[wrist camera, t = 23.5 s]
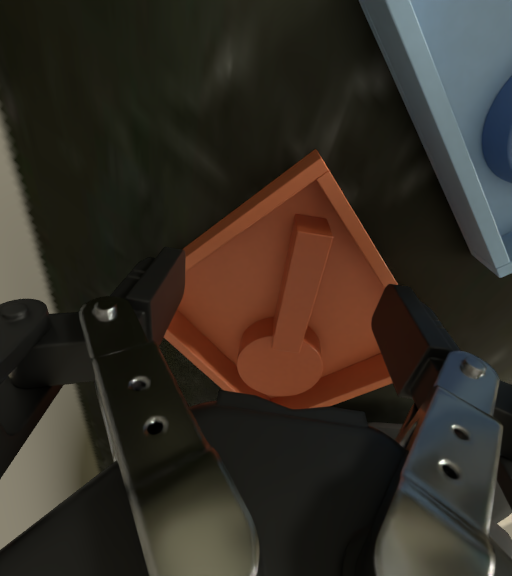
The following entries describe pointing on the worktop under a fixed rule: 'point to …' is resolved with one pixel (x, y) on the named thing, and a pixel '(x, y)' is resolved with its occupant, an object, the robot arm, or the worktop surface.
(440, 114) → the blue tray
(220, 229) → the terracotta tray
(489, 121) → the blue spoon
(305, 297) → the orange disc-ended stick
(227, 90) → the worktop surface
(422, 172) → the worktop surface
